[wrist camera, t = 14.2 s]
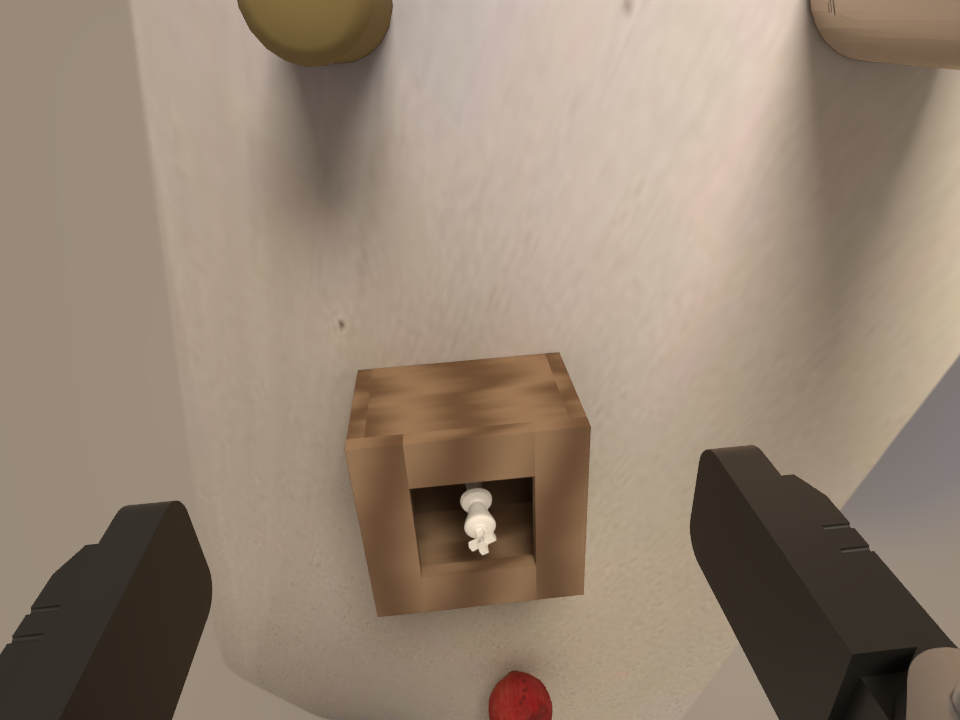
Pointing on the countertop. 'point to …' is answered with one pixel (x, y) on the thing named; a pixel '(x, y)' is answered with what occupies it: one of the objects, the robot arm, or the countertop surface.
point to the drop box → (470, 481)
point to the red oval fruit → (520, 699)
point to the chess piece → (478, 517)
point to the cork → (318, 28)
